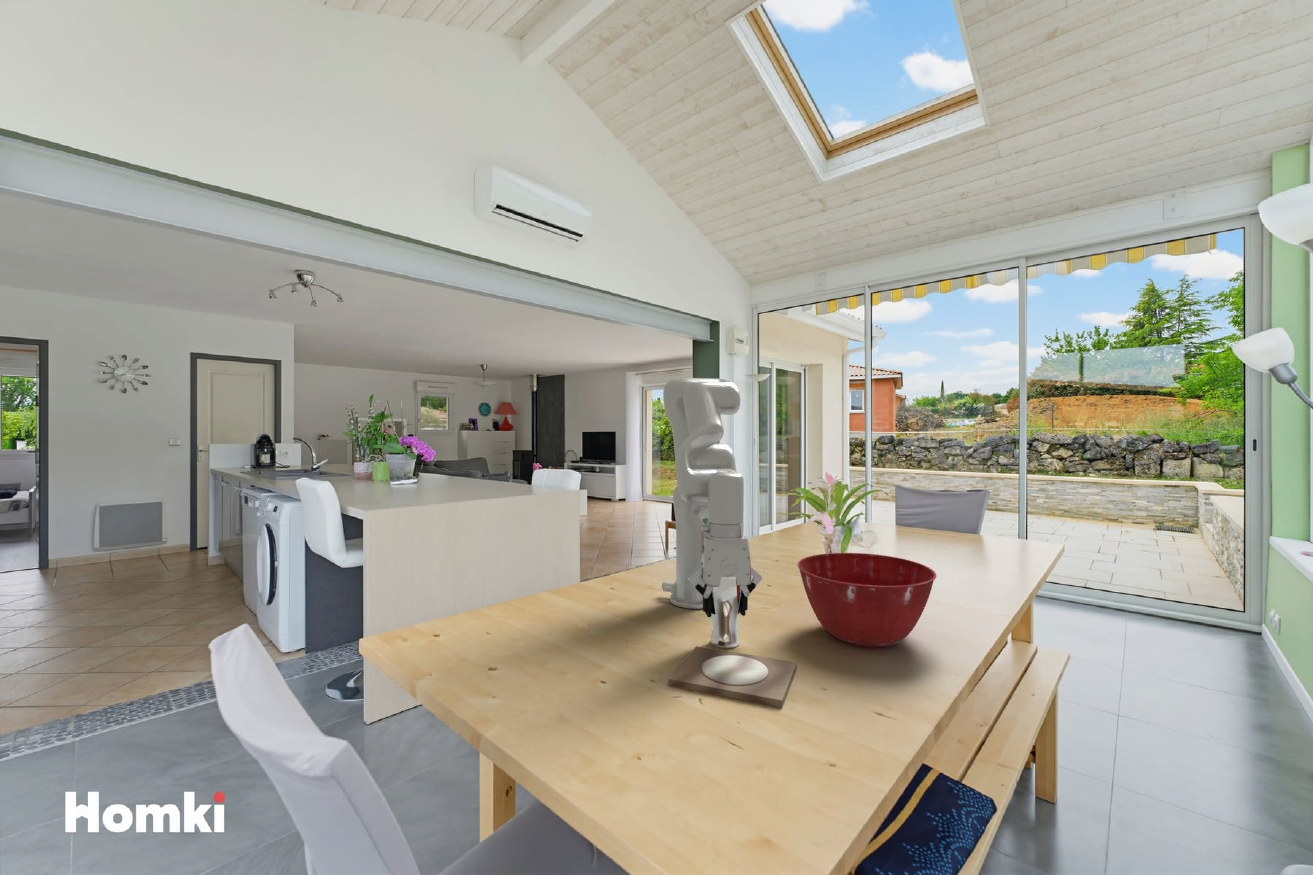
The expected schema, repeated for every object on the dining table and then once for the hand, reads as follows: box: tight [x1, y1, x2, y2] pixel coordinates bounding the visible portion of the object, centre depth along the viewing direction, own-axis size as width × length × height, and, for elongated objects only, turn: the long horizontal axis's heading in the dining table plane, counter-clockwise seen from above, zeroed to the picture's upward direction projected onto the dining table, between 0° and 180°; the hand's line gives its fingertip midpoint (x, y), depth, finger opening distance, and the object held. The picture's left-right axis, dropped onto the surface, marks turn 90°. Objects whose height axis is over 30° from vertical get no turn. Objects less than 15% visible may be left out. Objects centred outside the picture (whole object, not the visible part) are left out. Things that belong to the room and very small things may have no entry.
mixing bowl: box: [796, 552, 937, 648], centre depth 122 cm, size 28×28×16 cm
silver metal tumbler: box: [710, 576, 742, 649], centre depth 117 cm, size 7×7×15 cm
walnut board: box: [667, 645, 798, 709], centre depth 101 cm, size 20×16×2 cm
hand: (725, 613), depth 117 cm, fingers closed on silver metal tumbler, 6 cm apart
